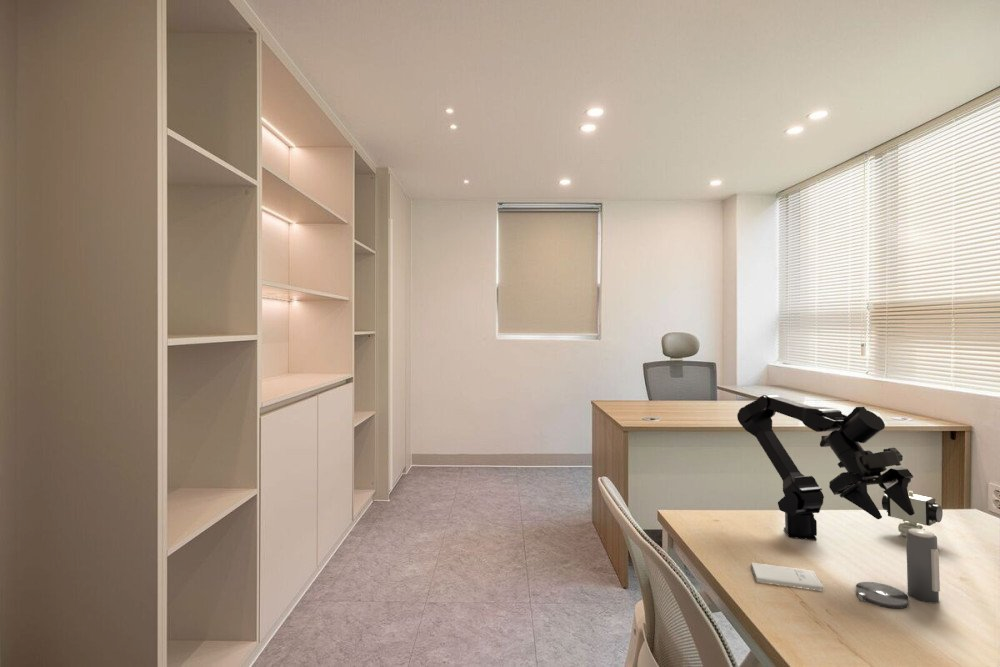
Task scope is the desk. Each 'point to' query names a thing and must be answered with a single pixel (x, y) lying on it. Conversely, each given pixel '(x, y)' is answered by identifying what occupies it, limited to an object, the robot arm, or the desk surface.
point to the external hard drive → (786, 576)
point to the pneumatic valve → (923, 509)
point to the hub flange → (882, 595)
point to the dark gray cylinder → (922, 565)
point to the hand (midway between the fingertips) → (896, 516)
